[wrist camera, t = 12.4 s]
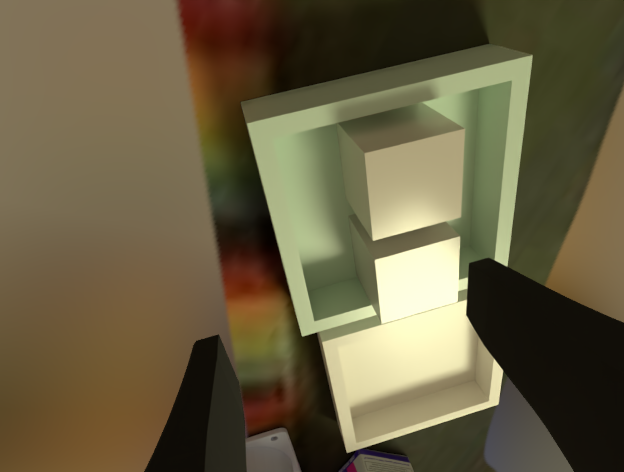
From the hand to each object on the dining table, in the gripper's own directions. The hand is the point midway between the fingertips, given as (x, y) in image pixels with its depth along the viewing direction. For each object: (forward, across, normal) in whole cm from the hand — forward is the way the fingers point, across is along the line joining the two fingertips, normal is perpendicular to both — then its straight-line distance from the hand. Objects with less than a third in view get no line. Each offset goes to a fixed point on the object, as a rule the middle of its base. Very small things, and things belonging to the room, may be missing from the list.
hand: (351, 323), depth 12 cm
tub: (+10, -4, +2) cm, 12 cm away
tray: (+10, -6, +15) cm, 19 cm away
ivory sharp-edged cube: (+10, -5, 0) cm, 11 cm away
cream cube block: (+10, -5, +5) cm, 12 cm away
